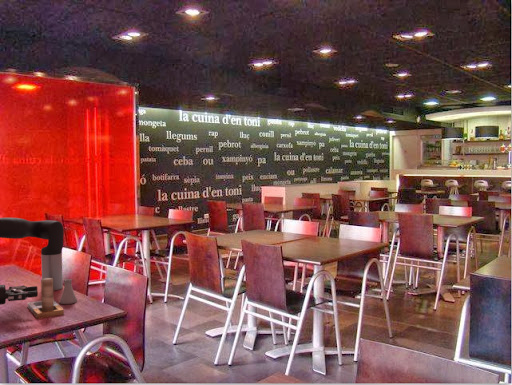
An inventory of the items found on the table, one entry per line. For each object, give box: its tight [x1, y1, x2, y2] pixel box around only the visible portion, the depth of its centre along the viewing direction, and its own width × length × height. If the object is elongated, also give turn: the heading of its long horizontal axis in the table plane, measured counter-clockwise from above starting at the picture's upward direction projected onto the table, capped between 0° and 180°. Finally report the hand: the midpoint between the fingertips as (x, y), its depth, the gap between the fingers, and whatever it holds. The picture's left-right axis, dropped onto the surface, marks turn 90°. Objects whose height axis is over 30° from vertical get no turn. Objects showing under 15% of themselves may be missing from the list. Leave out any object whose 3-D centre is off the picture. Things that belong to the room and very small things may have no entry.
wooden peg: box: [40, 278, 54, 312], centre depth 202 cm, size 4×4×14 cm
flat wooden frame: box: [27, 299, 65, 320], centre depth 206 cm, size 19×10×2 cm, turn 35°
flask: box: [59, 278, 78, 305], centre depth 219 cm, size 7×7×10 cm
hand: (37, 291), depth 200 cm, fingers open, 8 cm apart
